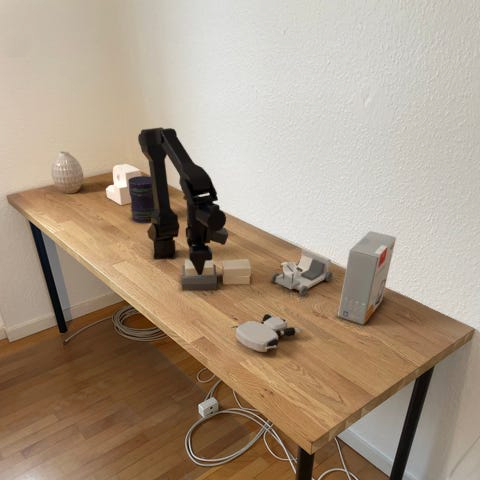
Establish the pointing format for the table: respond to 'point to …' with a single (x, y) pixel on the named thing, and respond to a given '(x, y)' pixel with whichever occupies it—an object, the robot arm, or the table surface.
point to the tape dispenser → (122, 183)
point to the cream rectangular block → (192, 271)
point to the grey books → (199, 281)
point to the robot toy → (263, 333)
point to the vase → (67, 172)
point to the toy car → (304, 272)
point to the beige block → (236, 271)
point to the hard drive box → (366, 276)
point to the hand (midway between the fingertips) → (199, 269)
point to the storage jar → (141, 199)
